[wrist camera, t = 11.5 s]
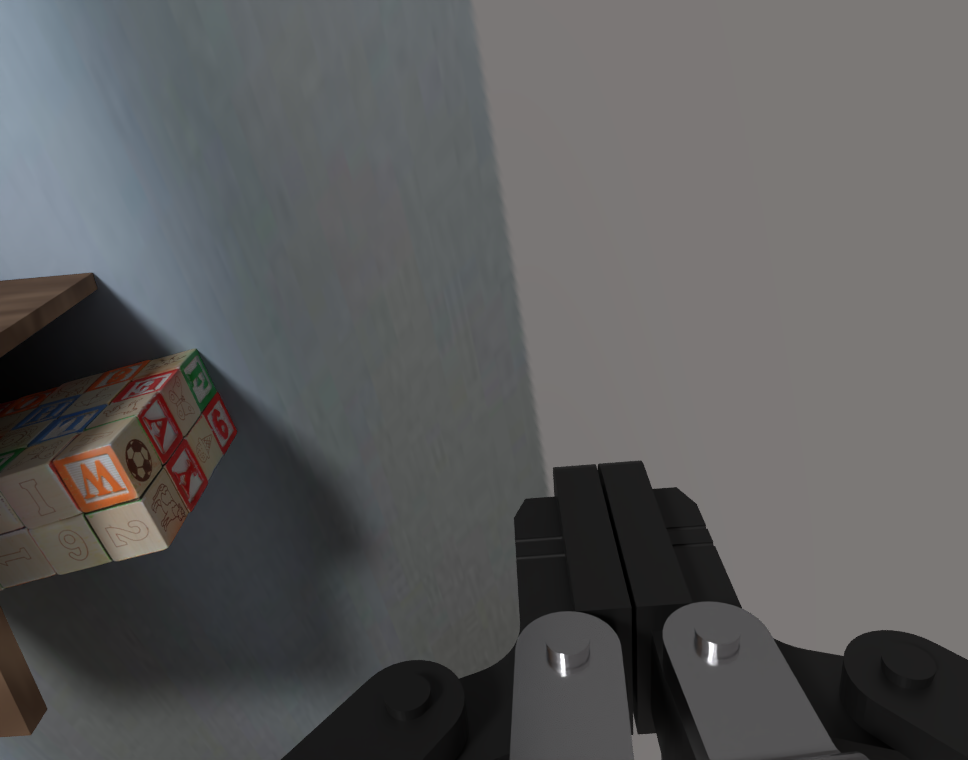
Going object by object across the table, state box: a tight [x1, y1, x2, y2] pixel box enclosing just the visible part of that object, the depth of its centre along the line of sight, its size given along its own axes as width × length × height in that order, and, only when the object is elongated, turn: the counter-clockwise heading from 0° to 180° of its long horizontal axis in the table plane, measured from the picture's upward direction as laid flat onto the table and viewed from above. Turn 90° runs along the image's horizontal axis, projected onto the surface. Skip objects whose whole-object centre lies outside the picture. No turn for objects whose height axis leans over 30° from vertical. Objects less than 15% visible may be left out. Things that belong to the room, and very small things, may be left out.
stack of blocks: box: [0, 349, 237, 591], centre depth 44 cm, size 21×6×12 cm, turn 106°
